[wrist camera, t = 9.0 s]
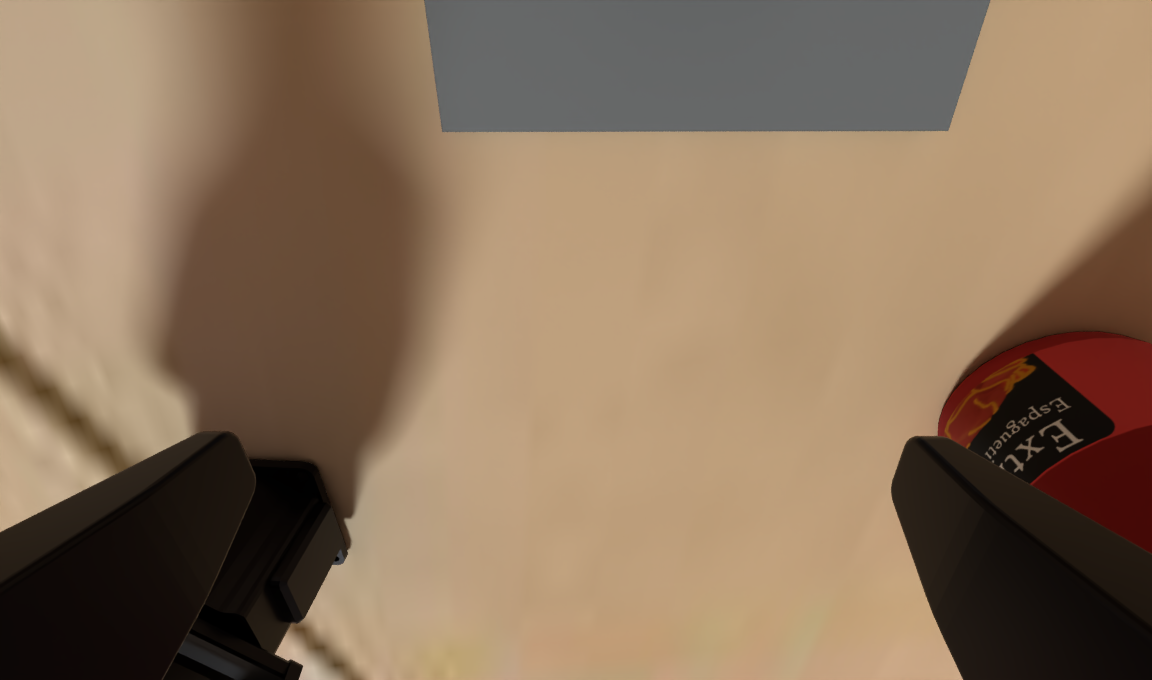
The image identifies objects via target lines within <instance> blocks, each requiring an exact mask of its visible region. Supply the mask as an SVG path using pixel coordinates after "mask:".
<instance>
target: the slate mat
mask: <svg viewBox="0 0 1152 680" xmlns="http://www.w3.org/2000/svg"><path fill="white" fill-rule="evenodd" d="M424 1H425V8H426V16H427V23H428V31H429V38H430V45H431V53H432V60H433V67H434V75H435V82H436V90H437V97H438V104H439V112H440V119H441V126H442V132H631V131H948V130H949V127H950V124H951V121H952V117H953V114H954V111H955V108H956V105H957V102H958V99H959V96H960V93H961V90H962V86H963V83H964V80H965V77H966V74H967V71H968V68H969V65H970V62H971V59H972V55H973V52H974V49H975V46H976V43H977V40H978V37H979V34H980V31H981V28H982V24H983V21H984V18H985V15H986V12H987V9H988V6H989V3H990V0H424Z"/></svg>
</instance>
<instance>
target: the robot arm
mask: <svg viewBox="0 0 1152 680" xmlns="http://www.w3.org/2000/svg"><path fill="white" fill-rule="evenodd" d="M891 494H892V500H893V503H894V506H895V509H896V512H897V515H898V518H899V520H900V523H901V526H902V529H903V532H904V535H905V538H906V540H907V543H908V546H909V549H910V552H911V555H912V558H913V560H914V563H915V566H916V569H917V572H918V575H919V577H920V580H921V583H922V586H923V589H924V592H925V595H926V597H927V600H928V602H929V605H930V608H931V610H932V613H933V615H934V618H935V620H936V622H937V624H938V627H939V629H940V631H941V633H942V636H943V638H944V640H945V642H946V644H947V646H948V648H949V650H950V653H951V655H952V657H953V659H954V661H955V663H956V665H957V667H958V670H959V672H960V674H961V676H962V678H963V680H1152V554H1151V553H1150V552H1148V551H1146V550H1144V549H1143V548H1141V547H1139V546H1137V545H1135V544H1134V543H1132V542H1130V541H1128V540H1127V539H1125V538H1123V537H1121V536H1120V535H1118V534H1116V533H1114V532H1113V531H1111V530H1109V529H1107V528H1106V527H1104V526H1102V525H1100V524H1099V523H1097V522H1095V521H1093V520H1092V519H1090V518H1088V517H1086V516H1085V515H1083V514H1081V513H1079V512H1078V511H1076V510H1074V509H1072V508H1071V507H1069V506H1067V505H1065V504H1064V503H1062V502H1060V501H1058V500H1057V499H1055V498H1053V497H1051V496H1050V495H1048V494H1046V493H1044V492H1043V491H1041V490H1039V489H1037V488H1036V487H1034V486H1032V485H1030V484H1029V483H1027V482H1025V481H1023V480H1022V479H1020V478H1018V477H1016V476H1015V475H1013V474H1011V473H1009V472H1008V471H1006V470H1004V469H1002V468H1001V467H999V466H997V465H995V464H994V463H992V462H990V461H988V460H987V459H985V458H983V457H981V456H980V455H978V454H976V453H974V452H973V451H971V450H969V449H967V448H966V447H964V446H962V445H960V444H959V443H957V442H955V441H953V440H952V439H950V438H947V437H943V436H915V437H912V438H910V439H909V440H908V441H907V442H906V444H905V446H904V449H903V452H902V455H901V458H900V460H899V463H898V466H897V469H896V472H895V475H894V478H893V480H892V486H891ZM347 555H348V551H347V549H346V546H345V543H344V540H343V537H342V534H341V531H340V528H339V526H338V523H337V520H336V517H335V514H334V512H333V509H332V507H331V504H330V501H329V498H328V495H327V493H326V490H325V487H324V484H323V481H322V479H321V476H320V473H319V470H318V469H317V467H316V466H315V465H313V464H311V463H309V462H300V461H276V460H252V459H248V457H247V455H246V453H245V450H244V448H243V446H242V444H241V441H240V439H239V438H238V437H237V436H236V435H235V434H234V433H232V432H228V431H205V432H200V433H197V434H195V435H193V436H191V437H189V438H187V439H185V440H183V441H181V442H179V443H177V444H175V445H173V446H171V447H169V448H167V449H165V450H163V451H161V452H159V453H157V454H155V455H153V456H151V457H149V458H147V459H145V460H143V461H141V462H139V463H137V464H135V465H133V466H131V467H129V468H127V469H125V470H123V471H121V472H119V473H117V474H115V475H113V476H111V477H109V478H107V479H105V480H103V481H101V482H99V483H97V484H95V485H93V486H91V487H89V488H87V489H85V490H83V491H81V492H79V493H77V494H75V495H73V496H71V497H70V498H68V499H66V500H64V501H62V502H60V503H58V504H56V505H54V506H52V507H50V508H48V509H46V510H44V511H42V512H40V513H38V514H36V515H34V516H32V517H30V518H28V519H26V520H24V521H22V522H20V523H18V524H16V525H14V526H12V527H10V528H8V529H6V530H4V531H2V532H0V680H299V677H300V674H301V671H302V668H303V665H301V664H299V663H297V662H295V661H293V660H289V661H287V660H285V659H283V658H281V657H279V656H277V655H275V653H276V651H277V649H278V647H279V645H280V644H281V642H282V640H283V638H284V636H285V634H286V632H287V630H288V629H289V627H290V625H291V623H296V624H298V623H300V622H301V621H302V620H303V619H304V618H305V616H306V614H307V612H308V610H309V609H310V607H311V605H312V603H313V601H314V599H315V597H316V595H317V593H318V591H319V589H320V587H321V585H322V583H323V582H324V580H325V578H326V576H327V574H328V572H329V570H330V568H331V566H332V565H340V564H343V563H344V561H345V559H346V557H347Z"/></svg>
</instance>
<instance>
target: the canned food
mask: <svg viewBox="0 0 1152 680" xmlns="http://www.w3.org/2000/svg"><path fill="white" fill-rule="evenodd" d="M938 436H943V437H947V438H950V439H952V440H953V441H955V442H957V443H959V444H960V445H962V446H964V447H966V448H967V449H969V450H971V451H973V452H974V453H976V454H978V455H980V456H981V457H983V458H985V459H987V460H988V461H990V462H992V463H994V464H995V465H997V466H999V467H1001V468H1002V469H1004V470H1006V471H1008V472H1009V473H1011V474H1013V475H1015V476H1016V477H1018V478H1020V479H1022V480H1023V481H1025V482H1027V483H1029V484H1030V485H1032V486H1034V487H1036V488H1037V489H1039V490H1041V491H1043V492H1044V493H1046V494H1048V495H1050V496H1051V497H1053V498H1055V499H1057V500H1058V501H1060V502H1062V503H1064V504H1065V505H1067V506H1069V507H1071V508H1072V509H1074V510H1076V511H1078V512H1079V513H1081V514H1083V515H1085V516H1086V517H1088V518H1090V519H1092V520H1093V521H1095V522H1097V523H1099V524H1100V525H1102V526H1104V527H1106V528H1107V529H1109V530H1111V531H1113V532H1114V533H1116V534H1118V535H1120V536H1121V537H1123V538H1125V539H1127V540H1128V541H1130V542H1132V543H1134V544H1135V545H1137V546H1139V547H1141V548H1143V549H1144V550H1146V551H1148V552H1150V553H1151V554H1152V344H1150V343H1147V342H1145V341H1141V340H1137V339H1134V338H1130V337H1127V336H1123V335H1119V334H1112V333H1105V332H1070V333H1064V334H1058V335H1051V336H1047V337H1044V338H1040V339H1037V340H1033V341H1030V342H1027V343H1024V344H1022V345H1019V346H1017V347H1015V348H1012V349H1010V350H1008V351H1006V352H1003V353H1002V354H1000V355H998V356H996V357H995V358H993V359H991V360H990V361H988V362H986V363H985V364H983V365H982V366H981V367H979V368H978V369H977V370H976V371H974V372H973V373H972V374H971V375H969V376H968V377H967V378H966V379H965V380H964V381H963V382H962V383H961V384H960V385H959V386H958V388H957V389H956V390H955V391H954V392H953V393H952V395H951V396H950V398H949V400H948V401H947V403H946V405H945V406H944V408H943V410H942V414H941V417H940V420H939V423H938Z"/></svg>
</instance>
